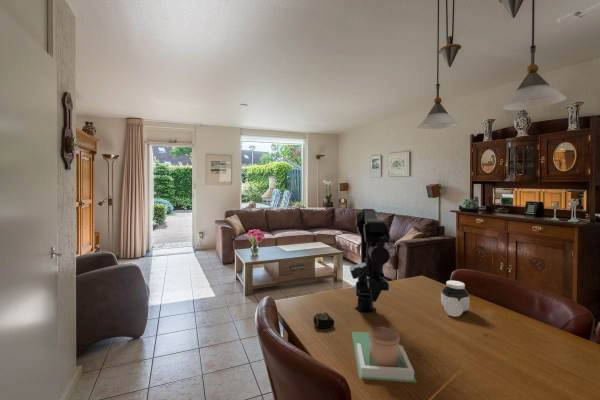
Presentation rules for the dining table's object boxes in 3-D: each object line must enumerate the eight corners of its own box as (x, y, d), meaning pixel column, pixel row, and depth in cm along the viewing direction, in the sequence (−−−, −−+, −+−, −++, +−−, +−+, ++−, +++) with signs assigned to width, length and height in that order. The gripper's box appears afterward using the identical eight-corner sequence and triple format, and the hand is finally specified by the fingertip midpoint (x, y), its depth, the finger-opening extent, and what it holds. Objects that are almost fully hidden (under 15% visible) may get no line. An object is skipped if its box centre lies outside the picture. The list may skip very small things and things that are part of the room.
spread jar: (460, 306, 125) (461, 280, 125) (477, 318, 114) (478, 289, 114) (433, 306, 125) (434, 280, 125) (448, 318, 114) (448, 289, 113)
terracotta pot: (379, 352, 89) (380, 324, 89) (404, 365, 83) (405, 335, 82) (362, 363, 84) (362, 333, 84) (387, 378, 77) (388, 345, 77)
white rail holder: (356, 351, 90) (356, 343, 90) (402, 353, 89) (402, 346, 89) (361, 376, 78) (361, 367, 78) (413, 380, 77) (414, 371, 76)
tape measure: (334, 328, 105) (335, 318, 105) (317, 331, 103) (317, 321, 103) (327, 320, 112) (327, 311, 112) (311, 322, 110) (311, 313, 109)
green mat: (351, 332, 102) (351, 331, 102) (394, 335, 101) (394, 333, 101) (359, 379, 77) (359, 378, 77) (416, 383, 76) (416, 382, 76)
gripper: (349, 250, 109) (348, 290, 110) (353, 263, 91) (352, 311, 92) (379, 251, 108) (378, 292, 109) (389, 264, 90) (388, 313, 90)
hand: (374, 301), depth 100 cm, fingers closed
